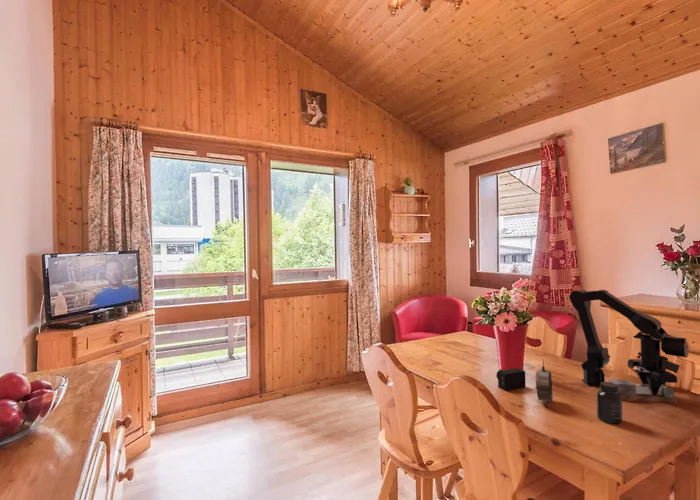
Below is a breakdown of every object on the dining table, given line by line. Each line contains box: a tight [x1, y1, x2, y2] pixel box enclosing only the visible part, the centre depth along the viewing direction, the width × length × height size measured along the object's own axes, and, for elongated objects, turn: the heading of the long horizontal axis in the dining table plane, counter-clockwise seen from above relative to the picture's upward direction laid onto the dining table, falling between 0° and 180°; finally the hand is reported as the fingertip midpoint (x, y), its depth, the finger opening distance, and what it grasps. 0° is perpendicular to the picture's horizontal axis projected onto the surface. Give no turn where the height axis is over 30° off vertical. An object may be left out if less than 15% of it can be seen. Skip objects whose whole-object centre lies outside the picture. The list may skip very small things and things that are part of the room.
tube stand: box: [608, 379, 678, 404], centre depth 134 cm, size 20×6×6 cm, turn 81°
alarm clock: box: [535, 358, 553, 409], centre depth 132 cm, size 11×5×16 cm, turn 148°
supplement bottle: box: [596, 381, 623, 426], centre depth 118 cm, size 7×7×12 cm
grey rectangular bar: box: [634, 383, 668, 395], centre depth 134 cm, size 13×3×3 cm, turn 81°
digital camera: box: [495, 367, 526, 392], centre depth 148 cm, size 10×5×7 cm, turn 109°
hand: (651, 393), depth 134 cm, fingers closed on grey rectangular bar, 3 cm apart
